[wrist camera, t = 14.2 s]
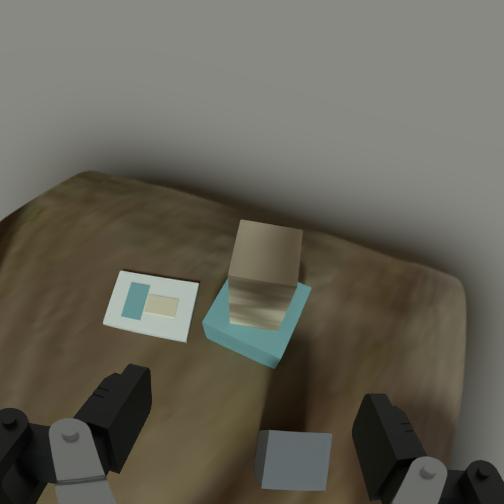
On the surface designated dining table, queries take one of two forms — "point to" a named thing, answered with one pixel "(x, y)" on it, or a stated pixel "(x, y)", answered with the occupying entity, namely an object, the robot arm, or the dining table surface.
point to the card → (152, 305)
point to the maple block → (263, 274)
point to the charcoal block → (292, 460)
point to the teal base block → (253, 329)
